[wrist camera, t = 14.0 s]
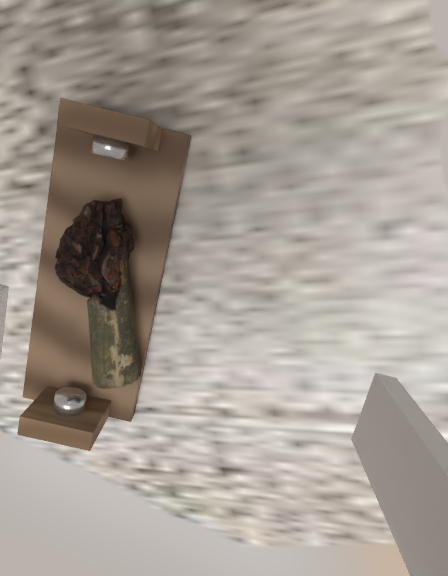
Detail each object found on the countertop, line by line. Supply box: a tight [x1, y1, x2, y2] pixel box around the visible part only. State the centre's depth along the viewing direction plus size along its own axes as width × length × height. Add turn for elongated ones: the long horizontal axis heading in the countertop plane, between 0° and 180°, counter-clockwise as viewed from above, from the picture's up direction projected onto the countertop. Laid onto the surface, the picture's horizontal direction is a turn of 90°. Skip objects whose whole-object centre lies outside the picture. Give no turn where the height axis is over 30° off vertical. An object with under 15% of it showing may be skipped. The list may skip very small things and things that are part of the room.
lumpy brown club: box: [55, 198, 142, 389], centre depth 40 cm, size 18×7×6 cm, turn 0°
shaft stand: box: [18, 98, 191, 451], centre depth 40 cm, size 30×12×8 cm, turn 167°
